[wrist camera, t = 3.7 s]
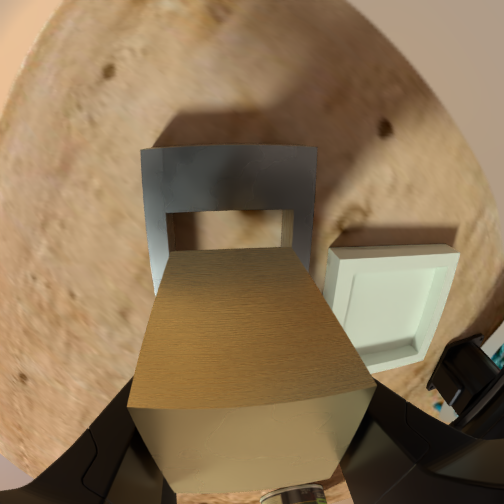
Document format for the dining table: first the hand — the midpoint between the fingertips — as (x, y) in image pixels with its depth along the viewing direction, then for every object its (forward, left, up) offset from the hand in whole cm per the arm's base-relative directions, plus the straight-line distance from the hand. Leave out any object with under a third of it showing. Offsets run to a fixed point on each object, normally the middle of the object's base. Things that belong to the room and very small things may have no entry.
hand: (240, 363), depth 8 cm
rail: (0, +5, -9) cm, 10 cm away
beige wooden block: (0, 0, -4) cm, 4 cm away
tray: (-11, +5, -9) cm, 15 cm away
